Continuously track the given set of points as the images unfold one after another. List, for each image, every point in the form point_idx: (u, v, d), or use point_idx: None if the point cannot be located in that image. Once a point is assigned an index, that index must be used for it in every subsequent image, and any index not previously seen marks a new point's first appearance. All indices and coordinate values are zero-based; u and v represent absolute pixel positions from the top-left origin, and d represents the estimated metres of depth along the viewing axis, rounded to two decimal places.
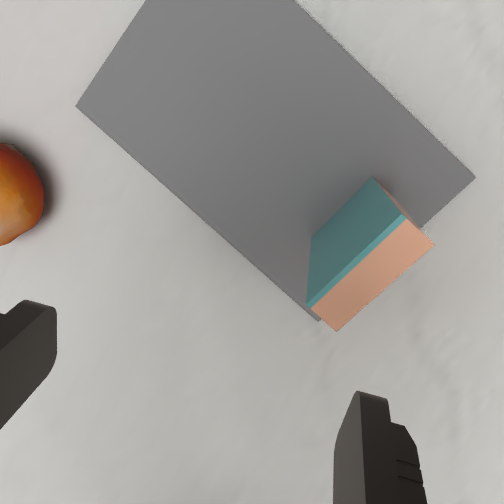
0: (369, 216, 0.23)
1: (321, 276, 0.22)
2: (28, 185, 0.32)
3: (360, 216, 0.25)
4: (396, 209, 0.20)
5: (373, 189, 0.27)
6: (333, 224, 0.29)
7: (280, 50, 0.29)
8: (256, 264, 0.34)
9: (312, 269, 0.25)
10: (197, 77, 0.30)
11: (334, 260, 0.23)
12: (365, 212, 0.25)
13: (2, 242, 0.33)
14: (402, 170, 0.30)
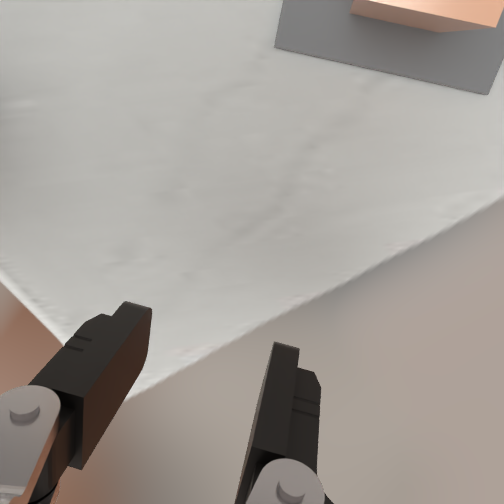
0: None
1: None
2: None
3: None
4: None
5: None
6: None
7: None
8: None
9: None
10: None
11: None
12: None
13: None
14: None
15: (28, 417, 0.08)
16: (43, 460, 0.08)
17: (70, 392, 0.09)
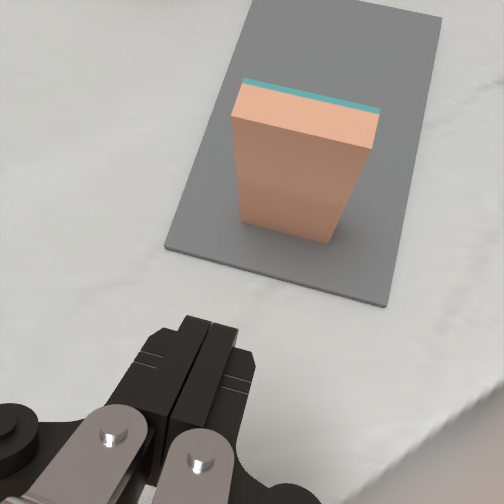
0: None
1: None
2: None
3: None
4: None
5: None
6: None
7: (388, 101, 0.33)
8: (196, 162, 0.32)
9: None
10: (332, 53, 0.34)
11: None
12: None
13: None
14: (354, 239, 0.30)
15: (115, 438, 0.08)
16: (121, 488, 0.08)
17: (152, 411, 0.09)
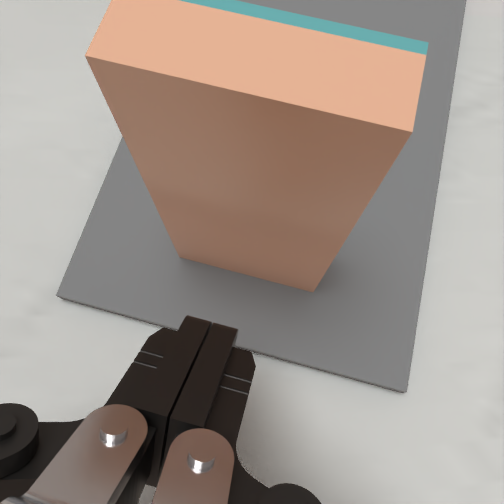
0: None
1: None
2: None
3: None
4: None
5: None
6: None
7: None
8: (114, 164, 0.21)
9: None
10: (319, 9, 0.24)
11: None
12: None
13: None
14: (354, 284, 0.19)
15: (115, 438, 0.08)
16: (121, 488, 0.08)
17: (152, 411, 0.09)
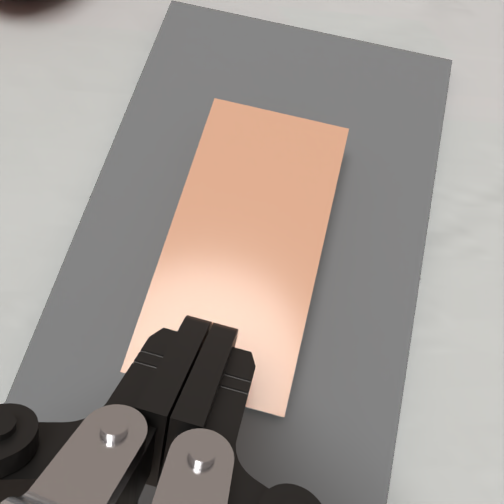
0: None
1: None
2: None
3: None
4: None
5: None
6: None
7: (370, 201, 0.20)
8: (45, 315, 0.18)
9: None
10: None
11: None
12: None
13: None
14: (314, 465, 0.17)
15: (115, 438, 0.08)
16: (121, 488, 0.08)
17: (152, 411, 0.09)
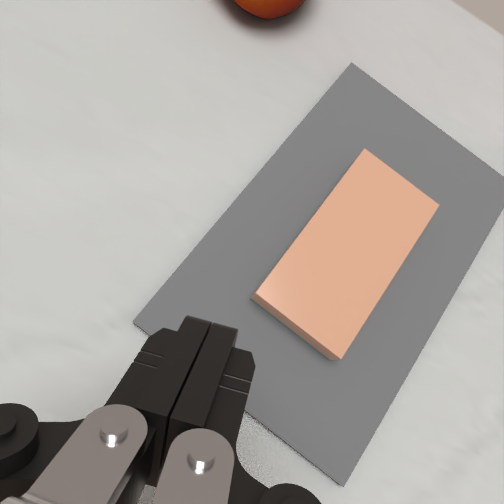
0: None
1: None
2: None
3: None
4: None
5: None
6: None
7: (430, 255, 0.30)
8: (206, 238, 0.27)
9: None
10: None
11: None
12: None
13: None
14: (338, 397, 0.26)
15: (114, 438, 0.08)
16: (121, 488, 0.08)
17: (152, 411, 0.09)
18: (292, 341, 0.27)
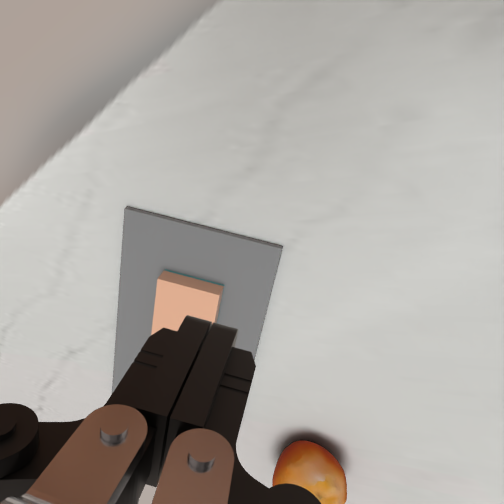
0: None
1: None
2: (285, 458, 0.47)
3: None
4: None
5: None
6: None
7: (139, 343, 0.48)
8: (265, 307, 0.43)
9: None
10: None
11: None
12: None
13: (331, 468, 0.46)
14: (150, 252, 0.43)
15: (115, 438, 0.08)
16: (121, 488, 0.08)
17: (152, 411, 0.09)
18: (189, 271, 0.43)
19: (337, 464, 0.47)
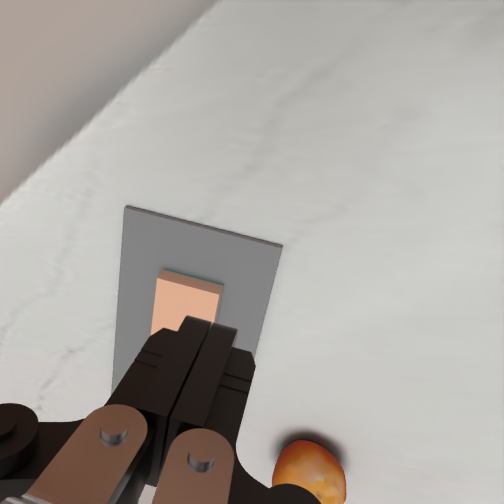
0: None
1: None
2: (284, 458, 0.47)
3: None
4: None
5: None
6: None
7: (138, 343, 0.48)
8: (265, 307, 0.43)
9: None
10: None
11: None
12: None
13: (331, 468, 0.46)
14: (149, 251, 0.43)
15: (115, 438, 0.08)
16: (121, 488, 0.08)
17: (152, 411, 0.09)
18: (189, 270, 0.43)
19: (337, 464, 0.47)
